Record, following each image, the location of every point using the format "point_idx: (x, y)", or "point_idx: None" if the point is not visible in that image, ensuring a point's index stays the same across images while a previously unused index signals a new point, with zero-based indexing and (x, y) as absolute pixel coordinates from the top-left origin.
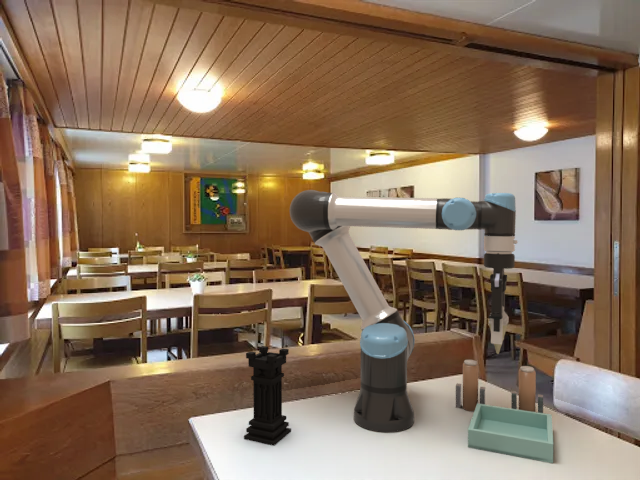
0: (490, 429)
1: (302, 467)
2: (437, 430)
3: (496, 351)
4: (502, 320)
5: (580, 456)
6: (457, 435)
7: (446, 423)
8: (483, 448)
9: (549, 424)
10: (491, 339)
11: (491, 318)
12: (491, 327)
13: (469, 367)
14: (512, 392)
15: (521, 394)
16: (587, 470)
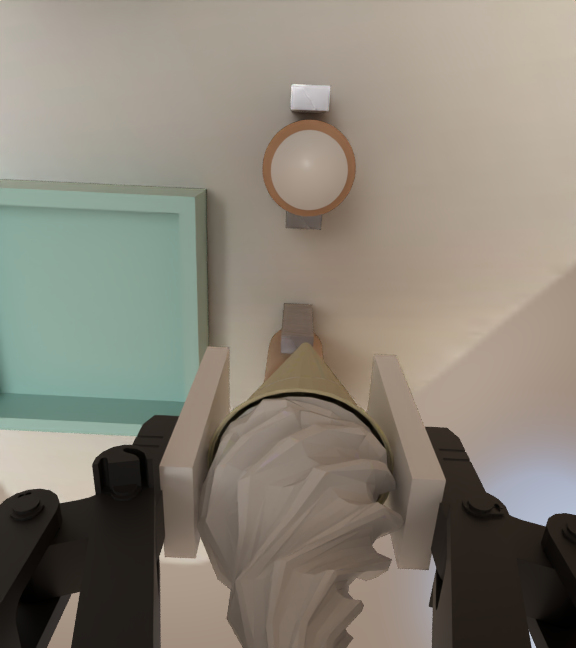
0: (109, 242)
1: None
2: (25, 49)
3: (299, 347)
4: (168, 545)
5: (75, 459)
6: (23, 132)
7: (108, 75)
8: None
9: (109, 428)
10: (201, 362)
11: (160, 465)
12: (183, 411)
13: (264, 166)
14: (292, 339)
15: (270, 371)
16: (5, 464)
